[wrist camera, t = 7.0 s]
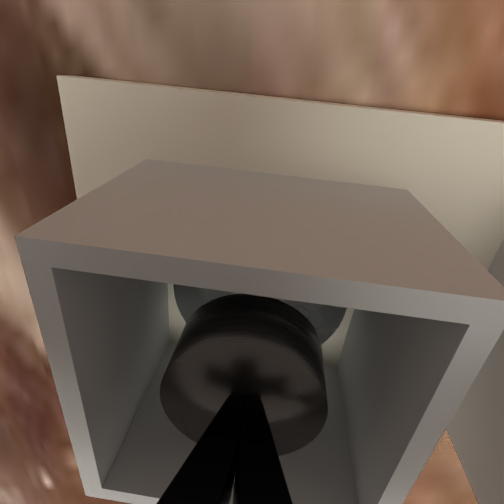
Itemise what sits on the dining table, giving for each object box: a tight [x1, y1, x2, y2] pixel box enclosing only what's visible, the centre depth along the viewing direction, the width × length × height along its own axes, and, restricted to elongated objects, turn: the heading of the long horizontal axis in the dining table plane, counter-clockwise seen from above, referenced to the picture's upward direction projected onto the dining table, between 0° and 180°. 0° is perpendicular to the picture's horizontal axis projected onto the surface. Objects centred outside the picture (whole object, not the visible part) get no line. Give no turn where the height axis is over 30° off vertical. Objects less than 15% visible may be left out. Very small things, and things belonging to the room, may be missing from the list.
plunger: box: [160, 284, 347, 456], centre depth 11 cm, size 7×7×6 cm
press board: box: [15, 75, 504, 504], centre depth 11 cm, size 28×14×8 cm, turn 85°
